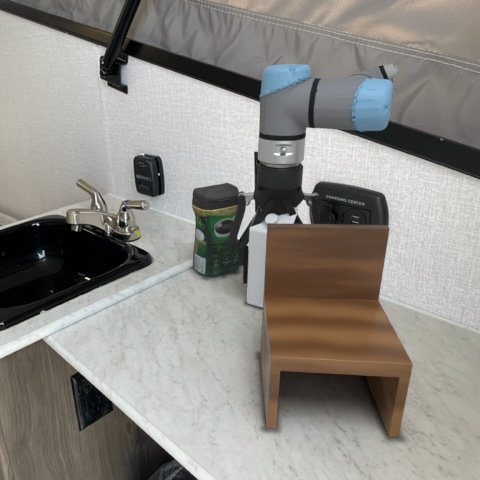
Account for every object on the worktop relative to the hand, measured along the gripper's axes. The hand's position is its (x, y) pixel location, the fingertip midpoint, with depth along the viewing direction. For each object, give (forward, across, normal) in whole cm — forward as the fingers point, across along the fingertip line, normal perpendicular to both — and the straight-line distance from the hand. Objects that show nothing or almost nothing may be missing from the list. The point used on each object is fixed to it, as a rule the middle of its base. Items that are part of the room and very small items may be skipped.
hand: (273, 281), depth 92 cm
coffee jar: (+4, -11, +13) cm, 18 cm away
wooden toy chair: (+4, +5, -25) cm, 26 cm away
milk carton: (+4, 0, 0) cm, 4 cm away
